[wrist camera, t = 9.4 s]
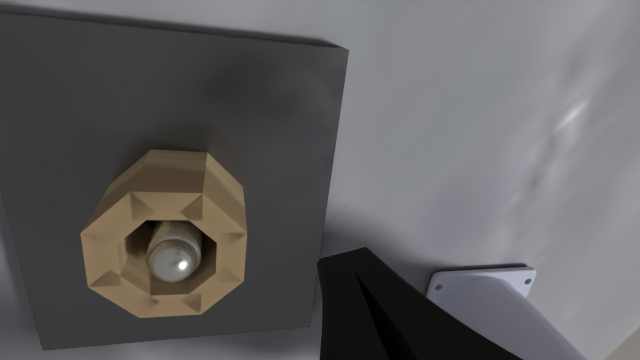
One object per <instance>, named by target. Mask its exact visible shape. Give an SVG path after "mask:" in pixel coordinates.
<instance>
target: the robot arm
mask: <svg viewBox="0 0 640 360" xmlns="http://www.w3.org/2000/svg"><path fill="white" fill-rule="evenodd" d="M317 269H318V274H319V280H320V285H321V291H322V299H323V310H322V338H321V351H320V360H587V359H586V358H585V357H584V356H583V355H582V354H581V353H580V352H579V351H578V350H577V349H576V348H575V347H574V346H573V345H572V344H571V343H570V342H569V341H568V340H567V339H566V338H565V337H564V336H563V335H562V334H561V333H560V332H559V331H558V330H557V329H556V328H555V327H554V326H553V325H552V324H551V323H550V322H549V321H548V320H547V319H546V318H545V317H544V316H543V315H542V314H541V313H540V312H539V311H538V310H537V309H536V308H535V307H534V306H533V305H532V304H531V303H530V302H529V301H528V300H527V299H526V297H527V295H528V292H529V290H530V288H531V285H532V283H533V281H534V279H535V276H536V271H535V270H534V269H533V268H532V267H517V268H499V269H482V270H464V271H446V272H437V273H435V274H434V275H433V276H432V278H431V281H430V285H429V288H428V291H427V295H426V296H424V295H423V294H422V293H420V292H419V291H418V290H417V289H415V288H414V287H413V286H411V285H410V284H409V283H408V282H406V281H405V280H404V279H403V278H401V277H400V276H399V275H398V274H397V273H396V272H394V271H393V270H392V269H391V268H390V267H388V266H387V265H386V264H385V263H384V262H383V261H382V260H381V259H379V258H378V257H377V256H376V255H375V254H374V253H373V252H372V251H371V250H369V249H368V248H366V247H364V248H360V249H356V250H352V251H349V252H345V253H341V254H337V255H333V256H329V257H326V258H322V259H320V260H319V261H318V262H317ZM437 285H438V286H437Z"/></svg>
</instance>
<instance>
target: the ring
mask: <svg viewBox="0 0 640 360" xmlns="http://www.w3.org/2000/svg"><path fill="white" fill-rule="evenodd" d="M146 220H189V221H191V222H192V223H193V224H194V225H195V226H197V227H198V228H199V229H200V230H202V231H203V240H202V251H201V261H200V264H199V266H198V268H197V269H196V270H195V271H194V272H193V273H192V274H191V275H189V276H188V277H187V278H185V279H184V280H181V281H178V282H165V281H162V280H160V279H158V278H157V277H155V276H154V275H153V273H152V272H151V270H150V268H149V267H148V265H147V263H146V254H147V250H148V247H149V244H150V241H151V237H152V234H153V231H154V229H153V228H152V227H150V226H149V225H148V224H146V223H145V221H146ZM80 234H81V241H82V248H83V255H84V263H85V270H86V277H87V284H88V287H89V288H90V289H92V290H94V291H95V292H97V293H99V294H100V295H102V296H104V297H105V298H107V299H108V300H110V301H112V302H113V303H115V304H117V305H118V306H120V307H122V308H123V309H125V310H127V311H128V312H130V313H132V314H133V315H135V316H137V317H138V318H149V317H166V316H183V315H200V314H202V313H203V312H205V311H206V310H207V309H209V308H210V307H211V306H212V305H214V304H215V303H216V302H218V301H219V300H220V299H222V298H223V297H224V296H225V295H227V294H228V293H229V292H231V291H232V290H233V289H234V288H236V287H237V286H238V285H240V284H241V283H242V282H243V281H244V271H245V257H246V243H247V224H246V214H245V203H244V193H243V186H242V185H241V184H240V183H239V182H238V181H237V180H236V179H235V178H234V177H233V176H232V175H231V174H230V173H229V172H227V171H226V170H225V169H224V168H223V167H222V166H221V165H220V164H219V163H218V162H217V161H216V160H215V159H214V158H213V157H212V156H211V155H210V154H209V153H208V152H194V151H174V150H154V149H151V150H150V151H148V152H147V153H146V154H145V155H144V156H142V157H141V158H140V159H139V160H138V161H137V162H135V163H134V164H133V165H132V166H131V167H129V168H128V169H127V170H126V171H125V172H124V173H122V174H121V175H120V176H119V177H118V178H117V179H115V180H114V181H113V182H112V183H111V184H110V186H109V188H108V189H107V191H106V193H105V194H104V196H103V197H102V199H101V201H100V202H99V204H98V206H97V207H96V209H95V210H94V212H93V214H92V215H91V217H90V219H89V220H88V222H87V223H86V225H85V227H84V228H83V230H82V231H81V233H80Z"/></svg>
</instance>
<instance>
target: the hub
mask: <svg viewBox="0 0 640 360" xmlns="http://www.w3.org/2000/svg"><path fill="white" fill-rule="evenodd" d="M348 54H349V50H348V49H345V48H343V47H334V46H325V45H315V44H306V43H297V42H287V41H278V40H268V39H259V38H249V37H240V36H231V35H221V34H212V33H202V32H193V31H183V30H174V29H165V28H155V27H146V26H136V25H127V24H118V23H108V22H99V21H89V20H80V19H70V18H61V17H52V16H42V15H33V14H23V13H14V12H5V11H0V187H1V191H2V195H3V199H4V203H5V207H6V210H7V214H8V218H9V222H10V226H11V230H12V234H13V237H14V241H15V245H16V249H17V253H18V257H19V261H20V264H21V268H22V272H23V276H24V280H25V284H26V288H27V291H28V295H29V299H30V303H31V307H32V311H33V315H34V318H35V322H36V326H37V330H38V334H39V338H40V342H41V345H42V349H43V350H54V349H65V348H76V347H87V346H98V345H110V344H121V343H132V342H143V341H154V340H166V339H177V338H188V337H199V336H210V335H222V334H233V333H244V332H255V331H266V330H278V329H289V328H300V327H310V320H311V313H312V306H313V299H314V292H315V285H316V278H317V271H318V269H317V262H318V261H319V257H320V250H321V243H322V236H323V229H324V222H325V215H326V208H327V201H328V194H329V187H330V180H331V173H332V166H333V159H334V152H335V145H336V138H337V131H338V124H339V117H340V110H341V103H342V96H343V89H344V82H345V75H346V68H347V61H348ZM151 149H154V150H174V151H194V152H208V153H209V154H210V155H211V156H212V157H213V158H214V159H215V160H216V161H217V162H218V163H219V164H220V165H221V166H222V167H223V168H224V169H225V170H226V171H227V172H229V173H230V174H231V175H232V176H233V177H234V178H235V179H236V180H237V181H238V182H239V183H240V184H241V185H242V186H243V193H244V203H245V214H246V224H247V243H246V257H245V271H244V281H243V282H242V283H241V284H240V285H238V286H237V287H236V288H234V289H233V290H232V291H231V292H229V293H228V294H227V295H225V296H224V297H223V298H222V299H220V300H219V301H218V302H216V303H215V304H214V305H212V306H211V307H210V308H209V309H207V310H206V311H205V312H203V313H202V314H200V315H183V316H166V317H149V318H138V317H137V316H135V315H133V314H132V313H130V312H128V311H127V310H125V309H123V308H122V307H120V306H118V305H117V304H115V303H113V302H112V301H110V300H108V299H107V298H105V297H104V296H102V295H100V294H99V293H97V292H95V291H94V290H92V289H90V288H89V287H88V284H87V277H86V270H85V263H84V255H83V248H82V241H81V234H80V233H81V231H82V230H83V228H84V227H85V225H86V223H87V222H88V220H89V219H90V217H91V215H92V214H93V212H94V210H95V209H96V207H97V206H98V204H99V202H100V201H101V199H102V197H103V196H104V194H105V193H106V191H107V189H108V188H109V186H110V184H111V183H112V182H113V181H114V180H115V179H117V178H118V177H119V176H120V175H121V174H122V173H124V172H125V171H126V170H127V169H128V168H129V167H131V166H132V165H133V164H134V163H135V162H137V161H138V160H139V159H140V158H141V157H142V156H144V155H145V154H146V153H147V152H148V151H150V150H151ZM145 223H146V224H148V225H149V226H150V227H152V228H153V229H154V231H153V234H152V237H151V241H150V244H149V247H148V250H147V254H146V263H147V265H148V267H149V268H150V270H151V272H152V273H153V275H154V276H155V277H157V278H158V279H160V280H162V281H165V282H178V281H181V280H184V279H185V278H187V277H188V276H189V275H191V274H192V273H193V272H194V271H195V270H196V269H197V268H198V266H199V264H200V261H201V251H202V240H203V231H202V230H200V229H199V228H198V227H197V226H195V225H194V224H193V223H192V222H191V221H189V220H146V221H145Z"/></svg>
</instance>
